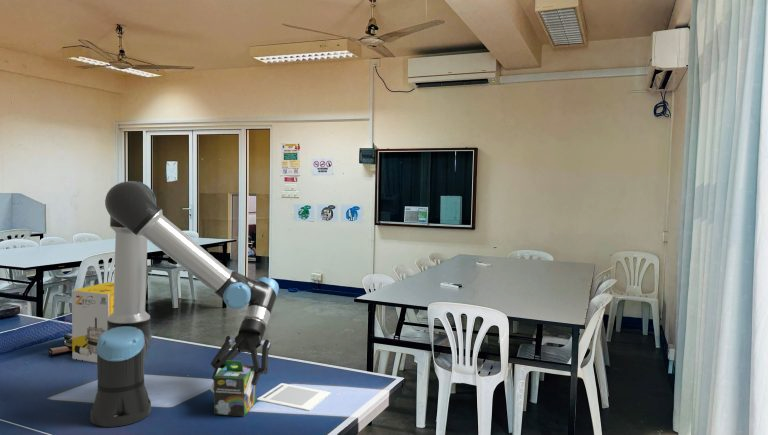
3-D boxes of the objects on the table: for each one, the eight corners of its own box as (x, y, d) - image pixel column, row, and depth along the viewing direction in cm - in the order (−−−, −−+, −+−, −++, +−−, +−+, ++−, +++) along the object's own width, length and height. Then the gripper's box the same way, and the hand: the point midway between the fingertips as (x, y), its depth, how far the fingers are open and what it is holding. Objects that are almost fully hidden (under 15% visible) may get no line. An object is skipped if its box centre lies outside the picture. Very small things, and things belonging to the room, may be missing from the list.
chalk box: (255, 403, 159) (256, 354, 157) (244, 417, 149) (245, 365, 148) (225, 401, 159) (226, 352, 158) (212, 414, 150) (213, 363, 149)
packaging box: (72, 359, 192) (71, 290, 190) (107, 345, 207) (107, 282, 205) (108, 364, 187) (108, 294, 185) (142, 350, 202) (142, 285, 201)
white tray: (309, 410, 155) (309, 409, 155) (256, 400, 161) (256, 398, 161) (331, 393, 168) (331, 392, 168) (281, 383, 174) (281, 382, 174)
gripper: (291, 332, 166) (270, 403, 152) (225, 326, 170) (198, 394, 156) (285, 320, 160) (262, 392, 146) (217, 314, 165) (188, 383, 150)
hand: (229, 393), depth 151 cm, fingers closed on chalk box, 9 cm apart
